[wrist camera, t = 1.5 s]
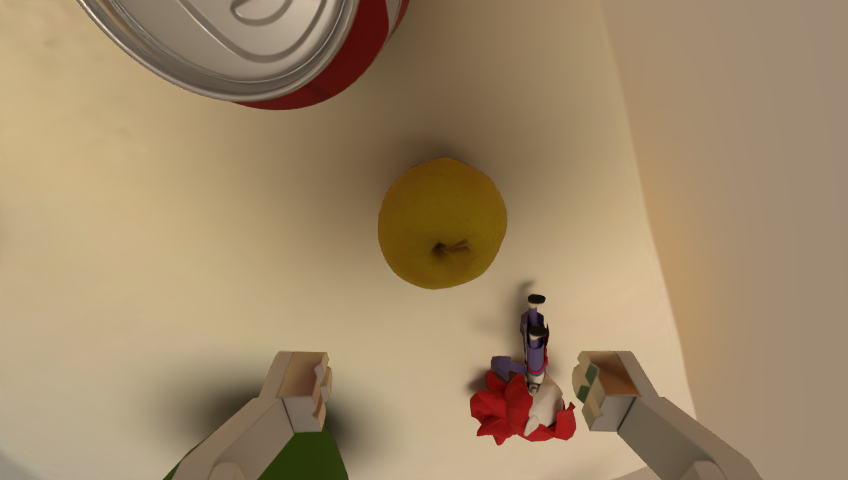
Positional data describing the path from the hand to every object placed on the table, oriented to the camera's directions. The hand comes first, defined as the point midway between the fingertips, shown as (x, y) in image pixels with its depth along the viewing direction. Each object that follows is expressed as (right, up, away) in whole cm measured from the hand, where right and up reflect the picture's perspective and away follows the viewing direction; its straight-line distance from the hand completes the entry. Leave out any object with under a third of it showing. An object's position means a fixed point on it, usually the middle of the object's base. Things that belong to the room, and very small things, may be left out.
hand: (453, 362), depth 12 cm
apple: (0, +7, +10) cm, 13 cm away
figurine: (+6, -5, +19) cm, 21 cm away
